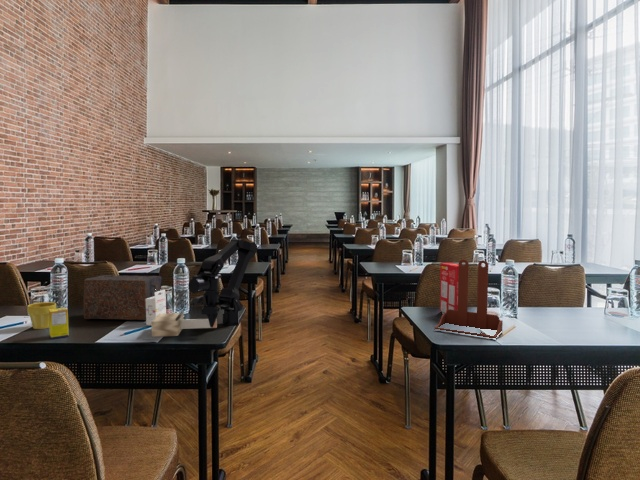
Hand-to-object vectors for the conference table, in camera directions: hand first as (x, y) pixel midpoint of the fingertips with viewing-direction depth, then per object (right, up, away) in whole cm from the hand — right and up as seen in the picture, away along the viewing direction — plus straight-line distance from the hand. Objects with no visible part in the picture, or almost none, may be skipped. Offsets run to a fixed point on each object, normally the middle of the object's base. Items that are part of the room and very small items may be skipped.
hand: (211, 326), depth 180 cm
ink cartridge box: (-27, -1, +11) cm, 30 cm away
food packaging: (+109, -1, +29) cm, 113 cm away
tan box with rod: (-17, -2, -3) cm, 18 cm away
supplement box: (-57, -2, -11) cm, 59 cm away
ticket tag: (-6, 0, -1) cm, 6 cm away
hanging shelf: (+107, -3, 0) cm, 107 cm away
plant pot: (-73, -1, +3) cm, 73 cm away
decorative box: (-46, 0, +22) cm, 51 cm away
